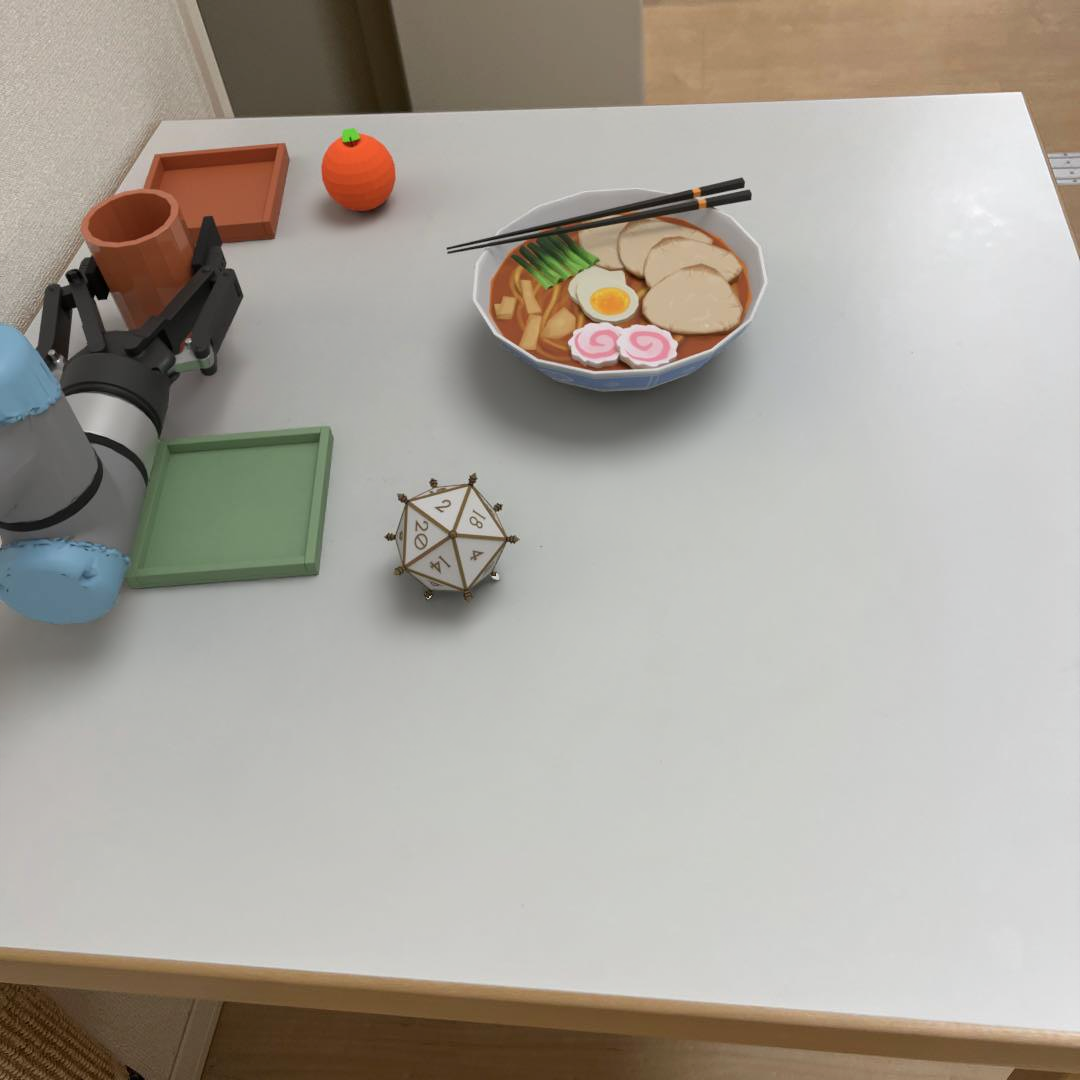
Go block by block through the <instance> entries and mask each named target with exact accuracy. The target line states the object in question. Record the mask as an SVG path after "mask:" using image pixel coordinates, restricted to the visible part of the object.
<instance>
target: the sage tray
mask: <svg viewBox="0 0 1080 1080" xmlns="http://www.w3.org/2000/svg"><path fill="white" fill-rule="evenodd" d="M334 438H335V437H334V435H333V431H332V428H331V426H330V425H322V426H310V427H309V426H308V427H298V428H297V427H296V428H285V429H272V430H261V431H260V430H259V431H247V432H237V433H236V432H235V433H222V434H210V435H199V436H187V437H186V436H185V437H174V438H159V440H158V446H157V450H156V454H155V458H154V462H153V466H152V470H151V474H150V477H149V481H148V484H147V488H146V492H145V498H144V502H143V507H142V511H141V515H140V520H139V524H138V528H137V533H136V537H135V541H134V546H133V550H132V554H131V560H130V561H131V565H130V568H129V569H128V571H127V572H125V575H124V578H125V579H126V581H127V582H128V585H129V587H130V588H131V589H143V588H157V587H169V586H171V587H172V586H182V585H183V586H184V585H185V586H186V585H196V584H209V583H222V582H223V583H224V582H233V581H234V582H235V581H247V580H248V581H250V580H261V579H263V580H264V579H275V578H289V577H302V576H315V575H319V574H320V565H321V557H322V548H323V537H324V529H325V521H326V511H327V504H328V503H327V502H328V494H329V485H330V483H329V482H330V475H331V467H332V466H331V465H332V458H333V457H332V456H333V447H334Z"/></svg>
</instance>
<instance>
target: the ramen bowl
mask: <svg viewBox="0 0 1080 1080" xmlns="http://www.w3.org/2000/svg"><path fill="white" fill-rule="evenodd" d="M745 186H746V180H745V179H744V178H743V177H742V176H741V177H738V178H737V177H736V178H733V179H729V180H725V181H721V182H716V183H714V184H709V185H704V186H700V187H697V188H691V189H688V190H683V191H678V192H669V191H663V190H658V189H651V188H645V187H641V186H636V187H619V188H603V189H587V190H582V191H577V192H575V193H573V194H569V195H566V196H563V197H560V198H559V197H558V198H556V199H553V200H549V201H546V202H544V203H541V204H538V205H535V206H534V207H532V208H530V209H529V210H527V211H526V212H524V213H523V214H521V215H520V216H518V217H517V218H515V219H513V220H512V221H510V222H509V223H507V224H506V225H504V226H502V227H501V228H500V229H497V231H496V232H495V234H494V235H493V236H490V237H489V236H488V237H484V238H481V239H477V240H472V241H467V242H464V243H461V244H456V245H452V246H447V247H446V250H448V251H447V252H446V254H447V255H449V254H450V255H451V254H455V253H460V252H467V251H473V250H478V249H483V248H485V249H484V250H483V251H482V252H481V254H480V256H479V258H478V259H477V260H476V262H475V264H474V275H473V289H472V301H473V303H474V304H475V306H476V308H477V309H478V311H479V313H480V314H481V316H482V317H483V320H484V321H485V323H486V324H487V326H488V327H489V330H490V331H491V332H492V334H493V335H494V336H495V338H496V339H497V340H498V341H499V342H500V343H501V345H502V346H503V347H504V348H505V349H507V350H508V351H509V352H511V353H512V354H513V355H515V356H516V357H517V358H519V359H520V360H522V361H523V362H525V363H527V364H528V365H530V366H531V367H533V368H534V369H536V370H538V371H539V372H541V373H543V374H544V375H546V376H547V377H548V378H550V379H552V380H554V381H556V382H558V383H562V384H566V385H570V386H575V387H579V388H584V389H588V390H591V391H592V390H593V391H596V392H602V393H603V392H604V393H605V392H606V393H607V392H623V391H624V392H625V391H626V392H627V391H643V390H645V391H646V390H647V391H648V390H650V389H652V388H656V387H658V386H661V385H664V384H667V383H669V382H672V381H675V380H678V379H680V378H683V377H686V376H689V375H690V374H693V373H695V372H696V371H698V370H700V368H701V367H703V366H704V365H706V363H708V362H709V361H710V360H712V359H713V358H714V357H715V356H716V355H717V354H719V353H721V351H723V350H724V349H725V348H727V347H728V346H729V345H731V343H733V342H734V341H735V340H736V339H737V338H738V337H739V336H741V335H742V334H743V333H744V331H745V330H747V328H748V327H749V325H750V324H751V323H752V322H753V320H754V318H755V315H756V313H757V311H758V308H759V306H760V304H761V302H762V299H763V296H764V293H765V292H766V289H767V286H768V284H769V279H768V274H767V270H766V264H765V259H764V254H763V250H762V246H761V244H759V242H758V241H757V240H756V239H755V238H754V237H753V236H752V235H751V234H750V233H749V232H748V231H747V229H745V228H744V226H743V225H742V224H741V223H739V221H738V220H737V219H736V218H735V217H734V216H733V215H731V214H729V213H727V212H725V211H722V210H720V209H718V208H717V207H721V206H727V205H732V204H737V203H742V202H749V201H752V199H753V198H752V197H753V196H752V195H753V193H752V192H751V190H750V189H745V188H746V187H745ZM741 189H744V190H741ZM736 190H737V191H736ZM738 190H740V191H738ZM731 191H735V192H731ZM727 192H730V193H727ZM722 193H724V194H722ZM716 194H719V195H716ZM712 195H716V196H712ZM707 196H711V197H707ZM703 197H706V198H703ZM698 198H703V199H698ZM486 242H487V243H486ZM482 243H483V244H482ZM477 244H478V245H477ZM462 247H463V248H462ZM457 248H458V249H457Z"/></svg>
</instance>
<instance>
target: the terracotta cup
mask: <svg viewBox="0 0 1080 1080" xmlns="http://www.w3.org/2000/svg"><path fill="white" fill-rule="evenodd" d="M79 231H80V234H81V236H82V238H83V240H84V242H85V244H86V246H87V248H88V250H89V252H90V255H92V256H93V258H94V261H95V263H96V265H97V267H98V269H99V271H100V273H101V275H102V277H103V279H104V281H105V283H106V285H107V287H108V290H109V294H110V296H111V298H112V300H113V303H114V304H115V306H116V307H117V311H118V313H119V314H120V316H121V319H122V321H123V322H124V323H123V324H124V325H125V327H126V329H127V331H129V330H133V329H139V328H141V326H142V325H143V324H144V323H145V322H146V321H147V320H148V319H149V318H150V317H151V316H158V315H159V314H160V313H161V312H162V311H163V310H164V308H165V307H166V306H167V305H168V304H169V303H170V302H171V301H172V299H173V298H174V297H175V296H176V295H177V294H178V293H179V292H180V290H181V289H182V288H183V287H184V286H185V285H186V284H187V283H188V282H189V280H190V279H191V278H192V277H193V276H194V275H195V274H194V271H193V269H192V266H191V262H192V259H193V255H194V251H195V247H196V245H194V243H193V240H192V237H191V235H190V232H189V230H188V227H187V225H186V222H185V219H184V217H183V214H182V212H181V209H180V207H179V204H178V203H177V201H176V200H175V199H174V197H173V196H172V195H170V194H168V193H165V192H163V191H161V190H154V189H143V188H136V189H131V190H130V189H129V190H124V191H121V192H119V193H116V194H113V195H111V196H109V197H106V198H103V200H100V202H98V203H97V204H95V205H93V206H92V207H91V208H90V209H89V210H88V211H87V213H86V214H85V215H84V216H83V217H82V218H81V224H80V229H79ZM191 333H192V331H191V332H190V333H189V335H188V336H187V337H186V338H185V339H187V338H191ZM185 339H184V340H183V342H182V343H181V345H180V352H179V353H181V352H182V351H183V349H184V347H185V346H186V344H185Z"/></svg>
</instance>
